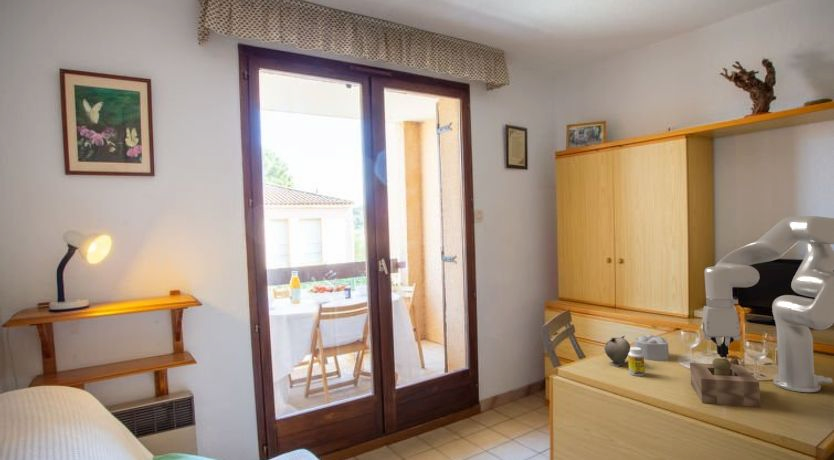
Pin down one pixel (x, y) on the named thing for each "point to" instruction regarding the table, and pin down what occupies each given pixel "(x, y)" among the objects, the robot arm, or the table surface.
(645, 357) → the white egg tray
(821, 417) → the table surface
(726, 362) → the olive pear shape
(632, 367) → the supplement bottle
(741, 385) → the brown square frame
